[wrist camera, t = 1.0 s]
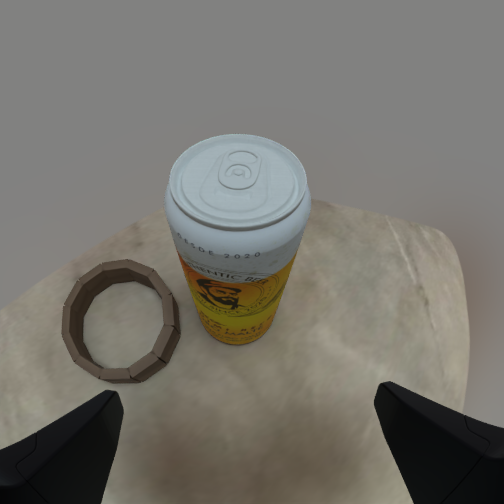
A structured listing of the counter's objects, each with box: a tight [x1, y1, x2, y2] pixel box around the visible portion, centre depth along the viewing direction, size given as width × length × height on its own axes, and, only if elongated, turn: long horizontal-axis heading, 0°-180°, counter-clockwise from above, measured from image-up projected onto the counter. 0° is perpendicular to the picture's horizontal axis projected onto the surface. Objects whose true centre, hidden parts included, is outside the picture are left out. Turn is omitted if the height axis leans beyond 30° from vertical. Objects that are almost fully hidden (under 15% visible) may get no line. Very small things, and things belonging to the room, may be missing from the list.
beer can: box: [164, 134, 311, 344], centre depth 17 cm, size 6×6×15 cm
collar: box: [62, 259, 180, 383], centre depth 21 cm, size 10×10×2 cm
